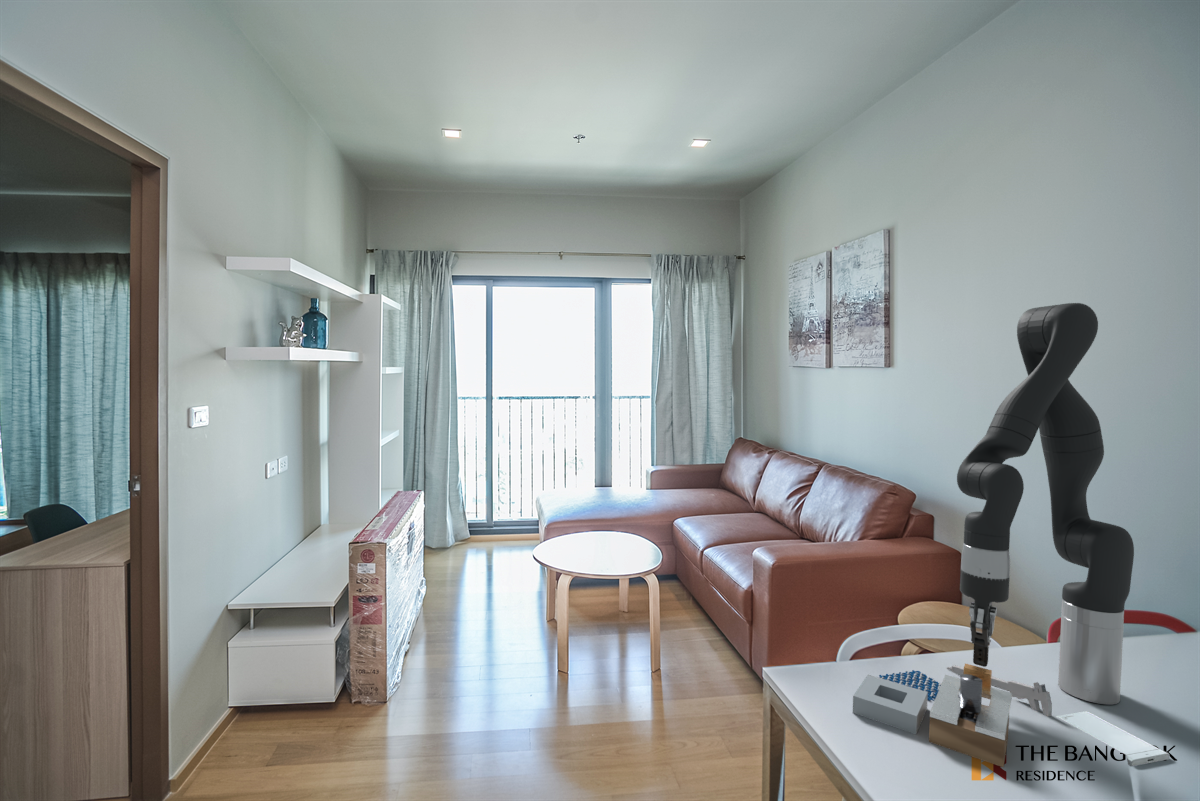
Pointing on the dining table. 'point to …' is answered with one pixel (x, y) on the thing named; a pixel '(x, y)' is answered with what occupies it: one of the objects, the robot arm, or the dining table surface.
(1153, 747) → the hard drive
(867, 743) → the dining table surface
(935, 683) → the woven mat
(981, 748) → the socket block
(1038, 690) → the caliper
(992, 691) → the plate
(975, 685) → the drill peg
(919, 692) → the block
